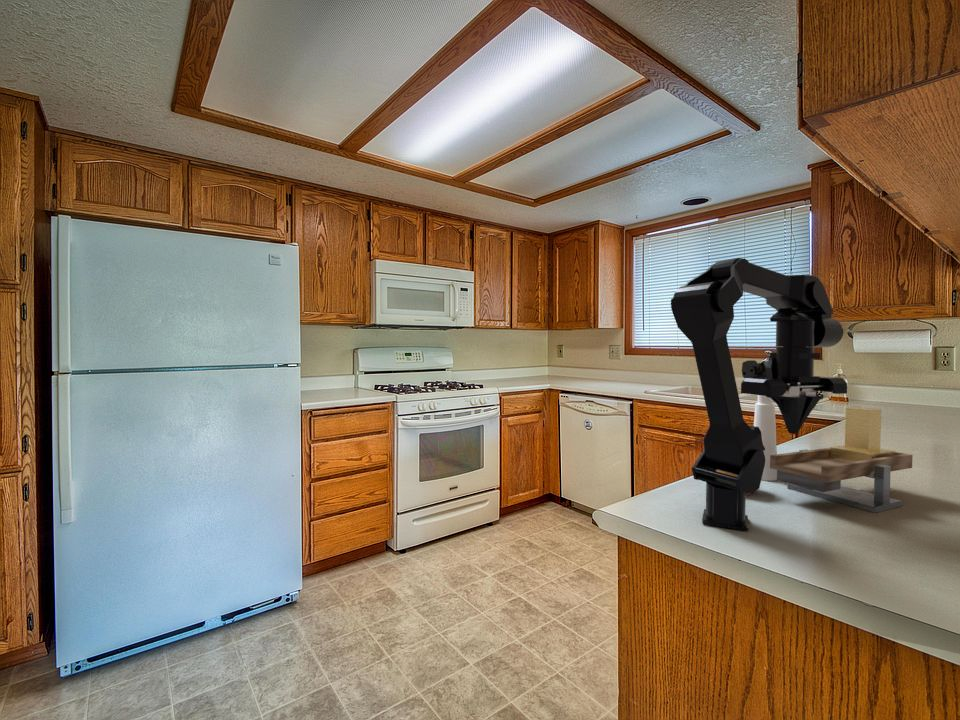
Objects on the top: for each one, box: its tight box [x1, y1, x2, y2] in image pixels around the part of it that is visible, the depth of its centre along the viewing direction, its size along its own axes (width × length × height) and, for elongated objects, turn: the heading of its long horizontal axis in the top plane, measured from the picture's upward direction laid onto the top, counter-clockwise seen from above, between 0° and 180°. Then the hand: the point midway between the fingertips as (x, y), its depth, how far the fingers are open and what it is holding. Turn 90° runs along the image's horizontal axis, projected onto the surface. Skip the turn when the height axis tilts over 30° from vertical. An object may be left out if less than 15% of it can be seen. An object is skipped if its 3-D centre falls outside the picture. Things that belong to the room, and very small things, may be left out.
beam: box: [770, 447, 913, 492], centre depth 88 cm, size 26×11×4 cm, turn 113°
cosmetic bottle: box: [753, 395, 778, 482], centre depth 101 cm, size 6×6×22 cm
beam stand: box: [787, 449, 902, 514], centre depth 88 cm, size 8×15×8 cm, turn 23°
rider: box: [829, 406, 896, 462], centre depth 91 cm, size 8×7×10 cm
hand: (792, 433), depth 84 cm, fingers closed
